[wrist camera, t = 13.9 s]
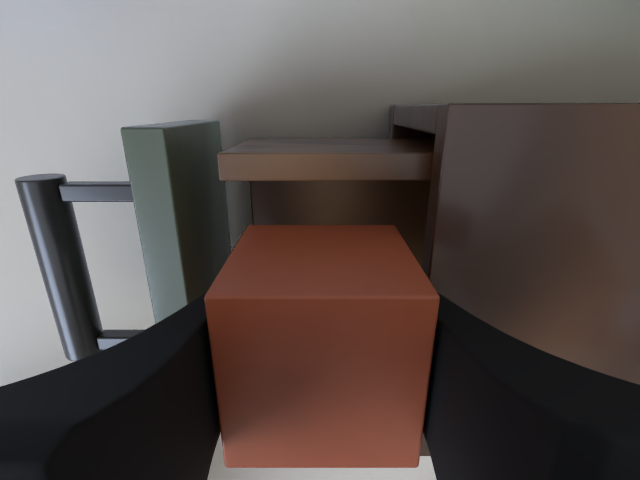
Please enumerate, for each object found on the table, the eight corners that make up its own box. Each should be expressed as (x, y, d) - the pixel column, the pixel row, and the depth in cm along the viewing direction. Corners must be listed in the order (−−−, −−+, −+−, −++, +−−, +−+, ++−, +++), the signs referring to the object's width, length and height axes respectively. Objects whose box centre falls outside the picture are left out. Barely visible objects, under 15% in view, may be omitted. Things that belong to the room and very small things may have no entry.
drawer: (124, 331, 19) (45, 422, 13) (78, 120, 15) (-55, 127, 10) (456, 331, 19) (512, 422, 13) (488, 120, 15) (582, 127, 10)
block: (256, 347, 13) (224, 469, 9) (247, 224, 11) (203, 296, 7) (385, 348, 13) (419, 469, 9) (395, 224, 11) (441, 296, 7)
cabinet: (376, 331, 20) (408, 456, 13) (390, 104, 16) (448, 103, 9) (624, 331, 20) (795, 456, 13) (701, 104, 16) (1012, 103, 9)
